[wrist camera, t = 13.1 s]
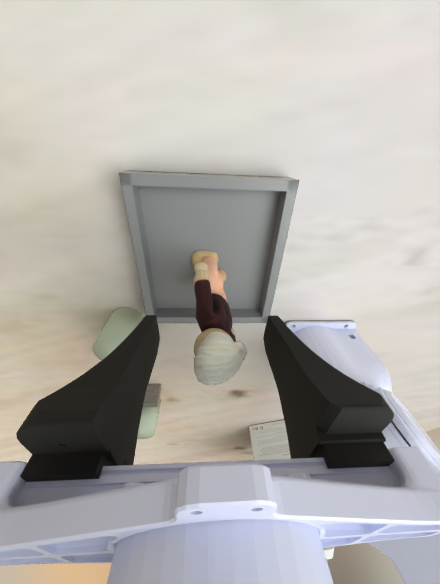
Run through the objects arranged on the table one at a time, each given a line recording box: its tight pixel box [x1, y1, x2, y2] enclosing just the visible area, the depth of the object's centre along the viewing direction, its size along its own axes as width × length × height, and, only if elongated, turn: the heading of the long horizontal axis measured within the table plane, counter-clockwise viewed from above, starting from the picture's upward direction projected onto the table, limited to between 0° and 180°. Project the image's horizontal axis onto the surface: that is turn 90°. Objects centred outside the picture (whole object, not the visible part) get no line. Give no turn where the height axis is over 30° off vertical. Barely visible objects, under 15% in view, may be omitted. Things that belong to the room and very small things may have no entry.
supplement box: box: [249, 420, 334, 559], centre depth 38 cm, size 10×9×17 cm
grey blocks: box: [143, 384, 161, 407], centre depth 30 cm, size 5×11×3 cm, turn 178°
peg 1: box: [137, 398, 161, 439], centre depth 34 cm, size 4×4×5 cm
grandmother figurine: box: [191, 251, 247, 385], centre depth 17 cm, size 8×4×13 cm, turn 30°
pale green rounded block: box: [93, 307, 144, 360], centre depth 24 cm, size 4×4×5 cm
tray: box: [119, 171, 299, 323], centre depth 21 cm, size 14×15×2 cm
